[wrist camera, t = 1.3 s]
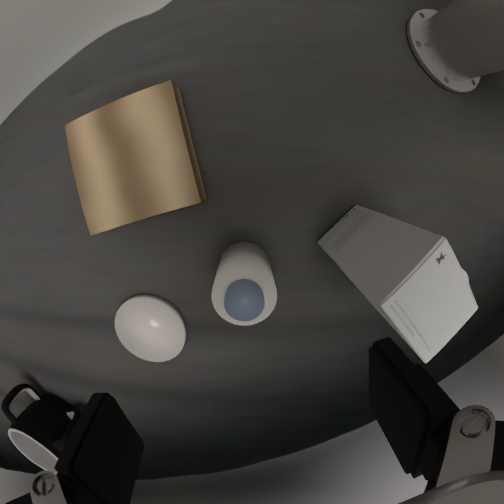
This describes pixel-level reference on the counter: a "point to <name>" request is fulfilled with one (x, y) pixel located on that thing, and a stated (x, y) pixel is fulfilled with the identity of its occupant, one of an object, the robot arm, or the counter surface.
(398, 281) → the skincare box
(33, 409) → the mug
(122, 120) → the oak slab
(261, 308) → the reagent bottle
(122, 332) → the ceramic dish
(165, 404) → the counter surface
